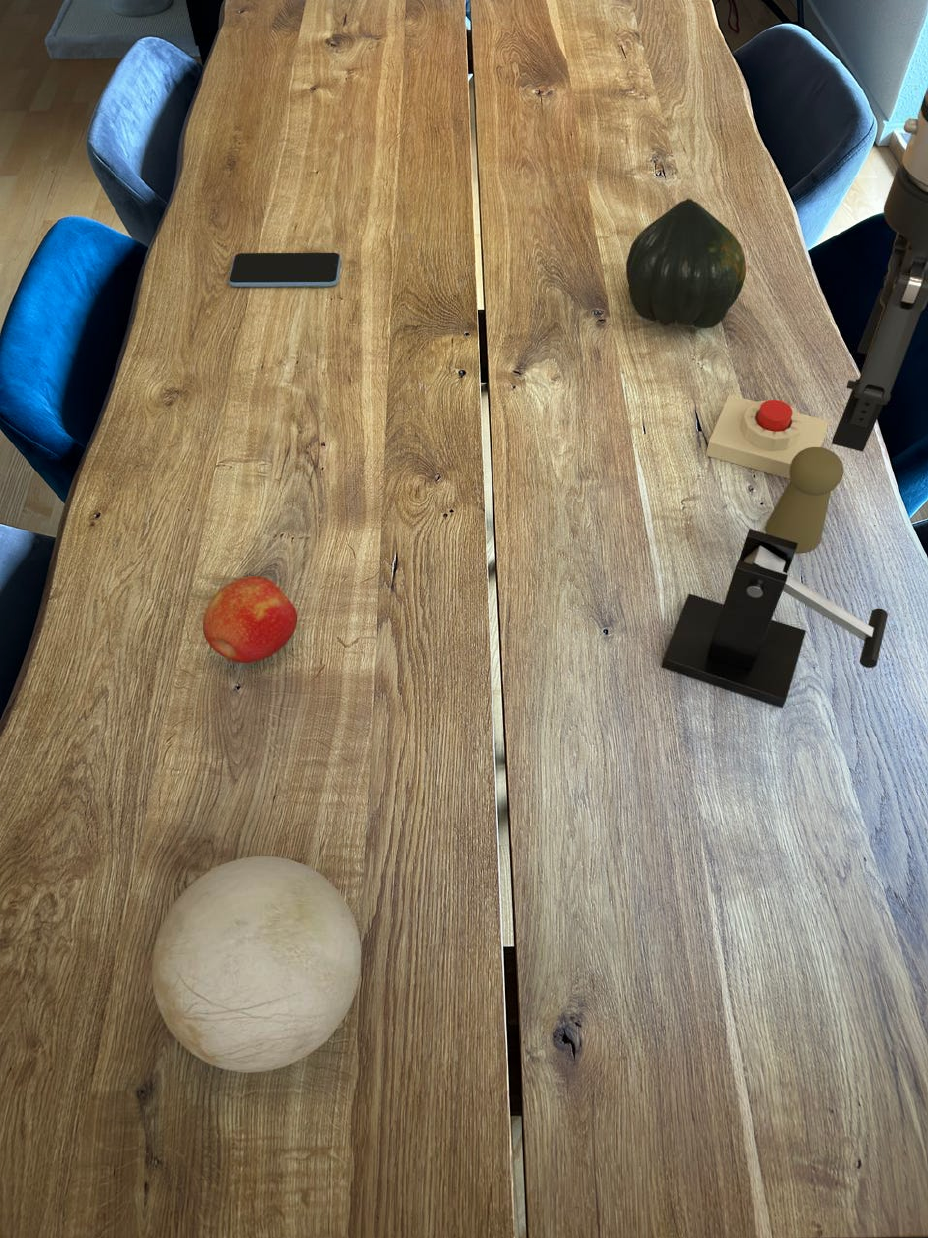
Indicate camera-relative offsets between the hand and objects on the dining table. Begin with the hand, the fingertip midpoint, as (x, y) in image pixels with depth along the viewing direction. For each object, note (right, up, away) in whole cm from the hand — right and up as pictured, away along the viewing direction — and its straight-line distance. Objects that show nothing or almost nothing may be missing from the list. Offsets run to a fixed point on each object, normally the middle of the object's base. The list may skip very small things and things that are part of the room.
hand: (860, 397), depth 92 cm
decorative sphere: (-51, -50, -12) cm, 72 cm away
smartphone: (-61, +28, +48) cm, 82 cm away
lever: (-5, -19, -1) cm, 20 cm away
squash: (-8, +21, +43) cm, 48 cm away
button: (-1, +2, +24) cm, 24 cm away
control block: (-1, 0, +27) cm, 27 cm away
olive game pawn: (0, -11, +18) cm, 21 cm away
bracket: (-9, -24, +8) cm, 27 cm away
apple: (-57, -23, +9) cm, 62 cm away
